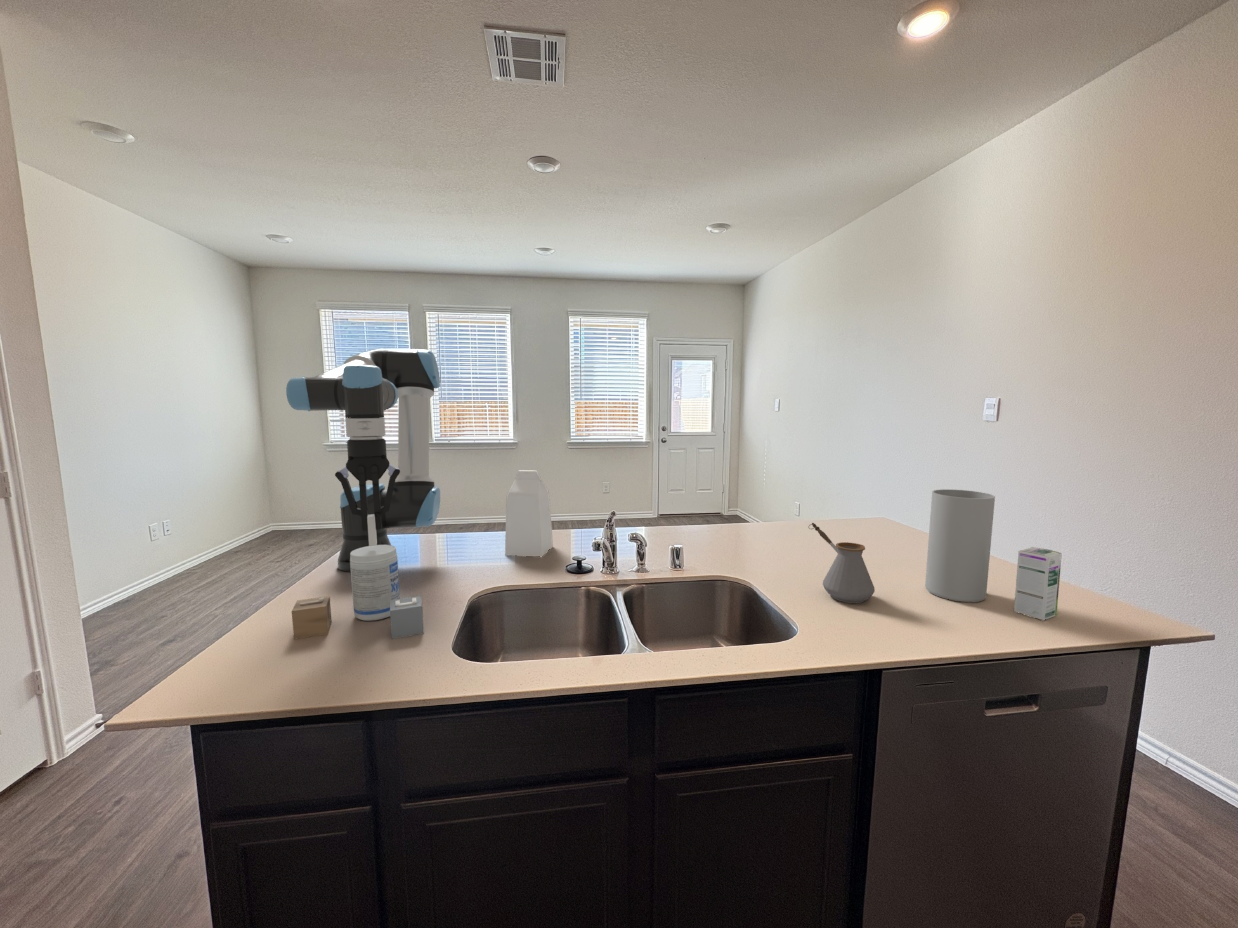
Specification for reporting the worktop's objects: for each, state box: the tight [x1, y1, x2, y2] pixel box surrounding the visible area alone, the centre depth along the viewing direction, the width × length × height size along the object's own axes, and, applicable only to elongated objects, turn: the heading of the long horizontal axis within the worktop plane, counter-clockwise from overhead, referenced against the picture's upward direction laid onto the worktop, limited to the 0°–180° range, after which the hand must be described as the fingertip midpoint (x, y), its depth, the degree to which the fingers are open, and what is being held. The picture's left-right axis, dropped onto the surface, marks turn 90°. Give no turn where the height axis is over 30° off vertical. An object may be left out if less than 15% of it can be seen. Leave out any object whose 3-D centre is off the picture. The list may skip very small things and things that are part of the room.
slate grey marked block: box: [389, 595, 425, 640], centre depth 104 cm, size 6×6×6 cm
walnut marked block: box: [291, 595, 333, 640], centre depth 104 cm, size 6×6×6 cm
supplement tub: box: [350, 544, 401, 621], centre depth 112 cm, size 10×10×15 cm
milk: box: [504, 469, 554, 557], centre depth 159 cm, size 12×12×26 cm
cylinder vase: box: [924, 488, 996, 603], centre depth 122 cm, size 12×12×25 cm
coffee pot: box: [808, 522, 876, 604], centre depth 125 cm, size 21×12×15 cm, turn 13°
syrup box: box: [1013, 546, 1062, 621], centre depth 110 cm, size 6×6×14 cm
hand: (373, 544), depth 111 cm, fingers closed
